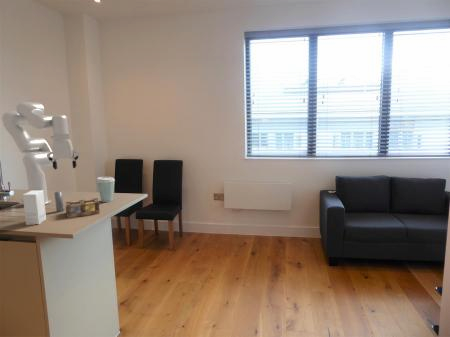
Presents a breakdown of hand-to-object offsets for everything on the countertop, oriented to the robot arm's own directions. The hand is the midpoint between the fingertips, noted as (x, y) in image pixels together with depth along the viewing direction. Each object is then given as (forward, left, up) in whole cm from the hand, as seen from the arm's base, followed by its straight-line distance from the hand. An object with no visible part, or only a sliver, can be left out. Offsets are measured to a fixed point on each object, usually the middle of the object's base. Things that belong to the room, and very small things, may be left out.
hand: (65, 168), depth 176 cm
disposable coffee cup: (+21, +8, -24) cm, 33 cm away
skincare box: (-15, -18, -24) cm, 33 cm away
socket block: (+7, -12, -24) cm, 27 cm away
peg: (-5, -2, -24) cm, 24 cm away
